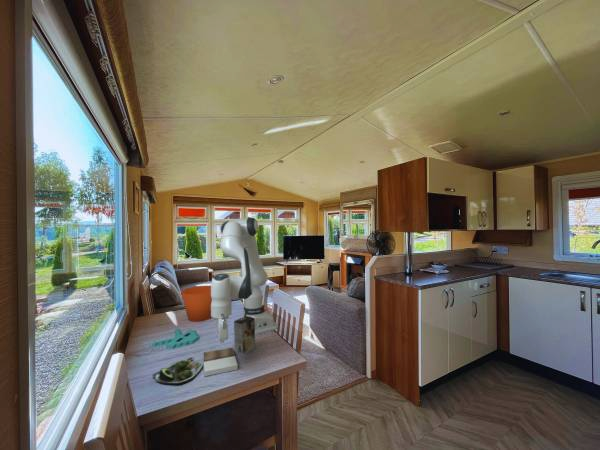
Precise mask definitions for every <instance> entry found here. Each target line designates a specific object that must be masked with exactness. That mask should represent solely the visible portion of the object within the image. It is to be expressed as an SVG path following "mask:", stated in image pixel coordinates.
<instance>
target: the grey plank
mask: <svg viewBox="0 0 600 450" xmlns="http://www.w3.org/2000/svg"><path fill="white" fill-rule="evenodd" d="M238 365H239V364H238V362H237V358H236V356H233V357H227V358H222V359H217V360H212V361H206V362H204V361H203V370H204V371H203V373H204V375H203V376H204V377H208V376H213V375H214V376H215V375H218V374H222V373H228V372H232V371H236V370H239V369H238V367H239V366H238Z"/></svg>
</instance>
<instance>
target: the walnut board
mask: <svg viewBox="0 0 600 450" xmlns="http://www.w3.org/2000/svg"><path fill="white" fill-rule="evenodd" d="M233 356H235V352H234V347H229V348H228V347H227V348H222V349H216V350H211V351H205V352H203V363H204V362H206V361H212V360H217V359H222V358H227V357H233ZM235 357H236V356H235Z"/></svg>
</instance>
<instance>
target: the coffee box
mask: <svg viewBox="0 0 600 450" xmlns="http://www.w3.org/2000/svg"><path fill="white" fill-rule="evenodd" d="M233 330H234V331H233V335H234V337H233V339H234V340H233V341H234V344H233V346H234V347H233V351H234V353H237V354H239V355H242V356H244V355H245V354H247V353H249V352H250V351H252V350H254V349H256V334H255V318H252V317H248V316H245V317H244V316H243V317H240V318H238V319H236V320H235V321H233Z"/></svg>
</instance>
